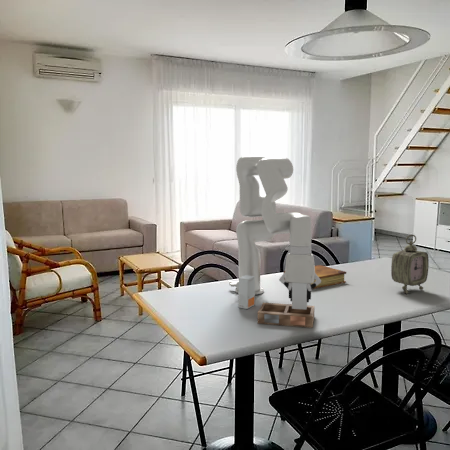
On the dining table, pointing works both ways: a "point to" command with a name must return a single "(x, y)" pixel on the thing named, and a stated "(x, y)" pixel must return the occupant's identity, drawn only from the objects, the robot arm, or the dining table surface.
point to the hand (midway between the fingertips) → (299, 300)
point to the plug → (299, 296)
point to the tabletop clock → (410, 266)
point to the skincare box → (246, 291)
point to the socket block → (285, 315)
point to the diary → (328, 276)
